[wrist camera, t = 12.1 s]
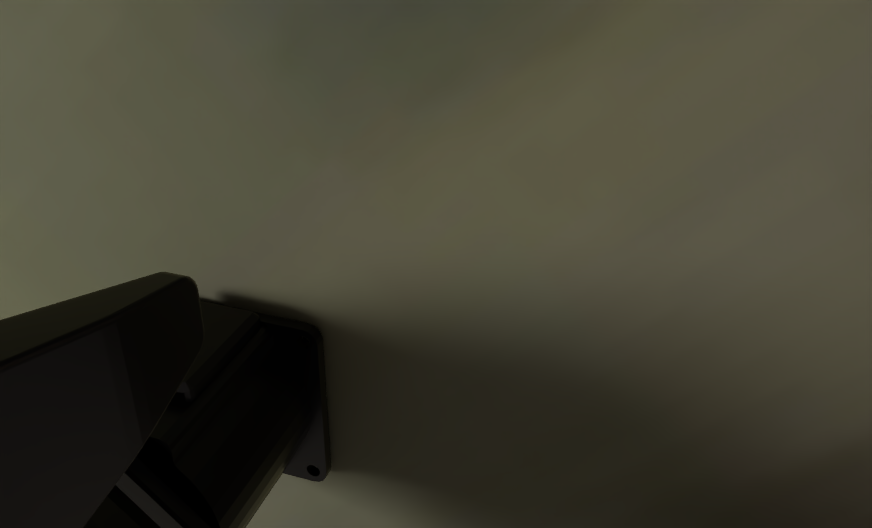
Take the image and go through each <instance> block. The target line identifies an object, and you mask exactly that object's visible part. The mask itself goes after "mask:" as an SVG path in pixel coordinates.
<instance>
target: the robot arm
mask: <svg viewBox="0 0 872 528" xmlns="http://www.w3.org/2000/svg"><path fill="white" fill-rule="evenodd" d="M302 336H303V337H306V338H307V339H308V340H309V342H310V343H309V342H306V341H305V340H304V339H303V338H302ZM315 466H316V467H317V468H316V467H315ZM330 469H331V458H330V443H329V428H328V412H327V397H326V382H325V366H324V351H323V338H322V335H321V333H320V331H319V330H318V329H317V328H316V327H315V326H313V325H311V324H308V323H304V322H299V321H294V320H290V319H285V318H280V317H275V316H270V315H265V314H260V313H255V312H252V311H248V310H243V309H238V308H233V307H228V306H223V305H218V304H213V303H208V302H203V301H200V299H199V293H198V288H197V285H196V283H195V281H194V280H193V279H192V278H190V277H188V276H183V275H178V274H173V273H168V272H159V273H155V274H152V275H149V276H146V277H142V278H139V279H136V280H132V281H129V282H126V283H122V284H119V285H116V286H112V287H109V288H106V289H102V290H99V291H96V292H92V293H89V294H86V295H82V296H79V297H76V298H72V299H69V300H66V301H62V302H59V303H56V304H52V305H49V306H46V307H42V308H39V309H36V310H32V311H29V312H26V313H22V314H19V315H16V316H12V317H9V318H6V319H2V320H0V528H245V527H246V526H247V525H248V523H249V522H250V520H251V519H252V517H253V516H254V514H255V513H256V511H257V510H258V508H259V507H260V505H261V504H262V502H263V501H264V500H265V498H266V497H267V495H268V494H269V492H270V491H271V489H272V488H273V486H274V485H275V483H276V482H277V480H278V479H279V478H280V476H281V475H282V473H285V474H289V475H292V476H296V477H300V478H304V479H308V480H312V481H318V482H319V481H323V480H324V479H325V478H326V476H327V475H328V473H329V471H330Z"/></svg>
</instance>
